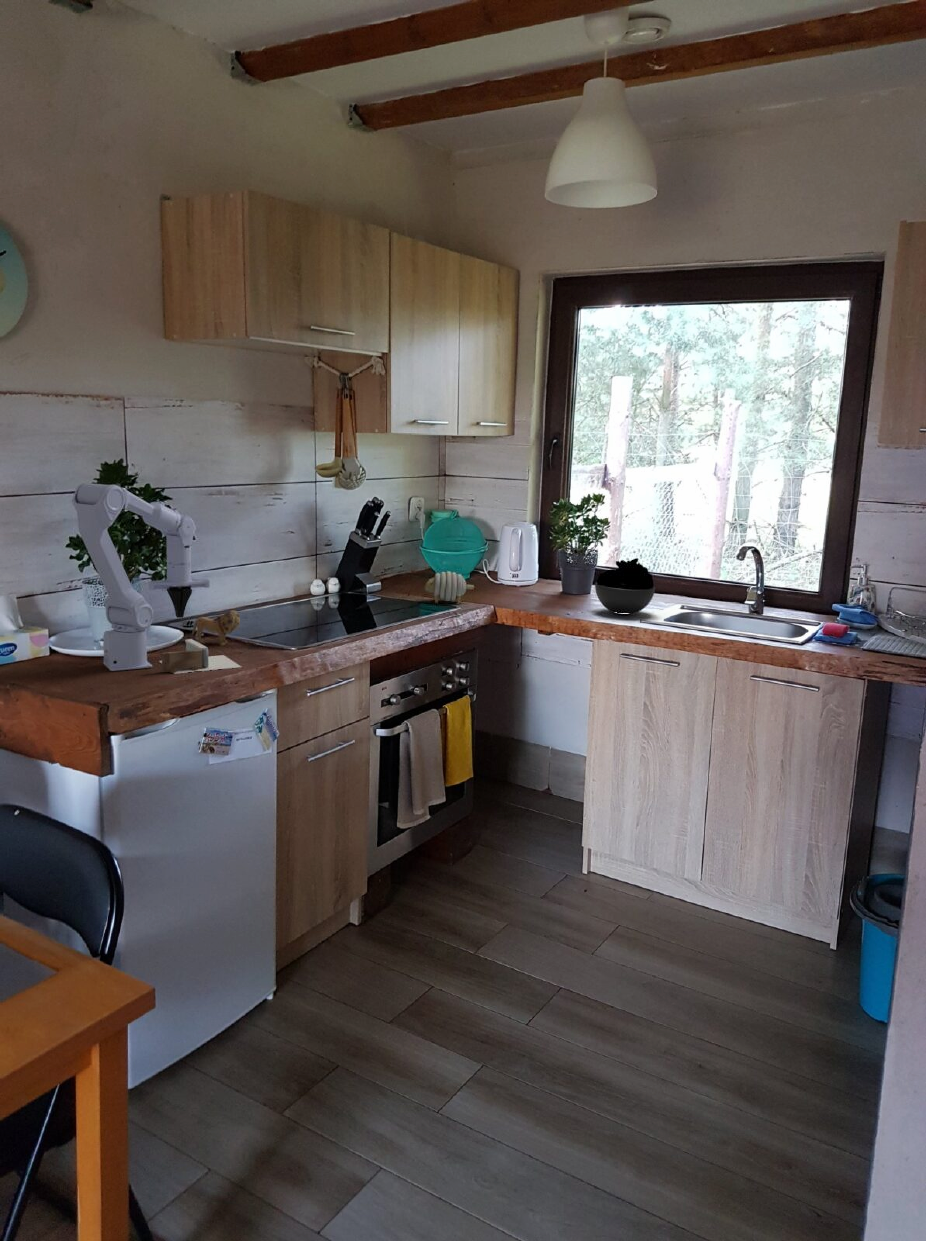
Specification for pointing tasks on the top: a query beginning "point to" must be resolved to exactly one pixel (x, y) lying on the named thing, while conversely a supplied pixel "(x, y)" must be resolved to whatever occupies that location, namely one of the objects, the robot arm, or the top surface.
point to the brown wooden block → (181, 660)
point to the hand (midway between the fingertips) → (179, 616)
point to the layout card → (212, 664)
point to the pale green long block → (197, 646)
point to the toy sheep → (447, 586)
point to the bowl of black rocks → (625, 587)
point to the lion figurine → (217, 626)
